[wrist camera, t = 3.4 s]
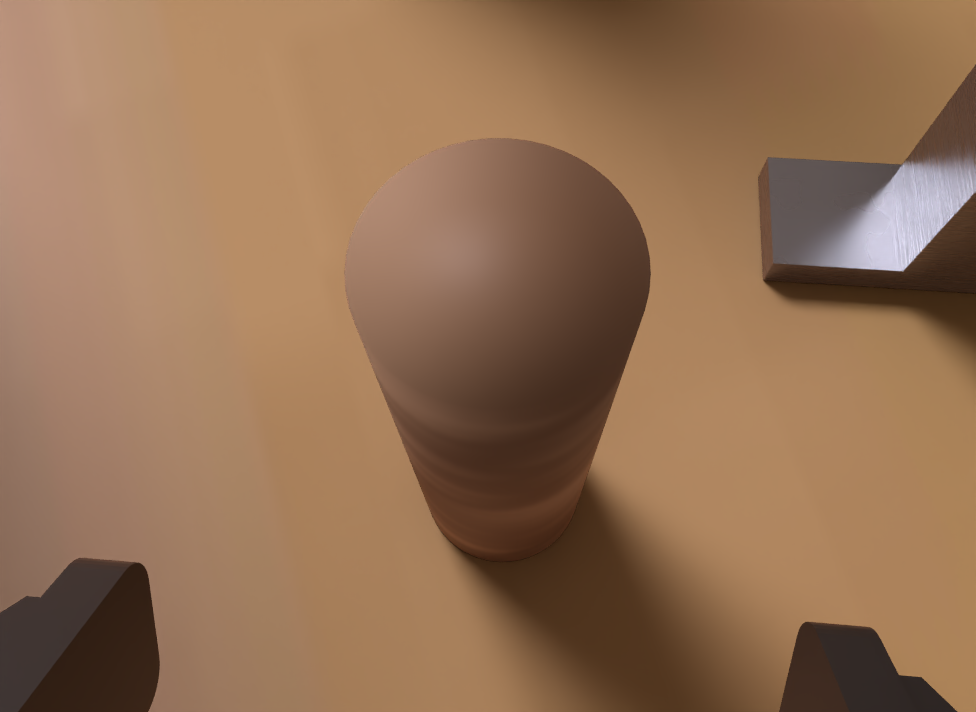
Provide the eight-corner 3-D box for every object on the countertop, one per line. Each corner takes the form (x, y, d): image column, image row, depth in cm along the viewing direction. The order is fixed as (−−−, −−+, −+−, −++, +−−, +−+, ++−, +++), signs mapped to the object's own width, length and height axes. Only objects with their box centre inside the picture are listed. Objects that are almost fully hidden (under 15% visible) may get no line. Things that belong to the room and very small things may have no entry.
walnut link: (418, 555, 22) (322, 397, 10) (434, 406, 23) (366, 130, 12) (575, 568, 21) (649, 420, 10) (581, 416, 23) (651, 146, 12)
